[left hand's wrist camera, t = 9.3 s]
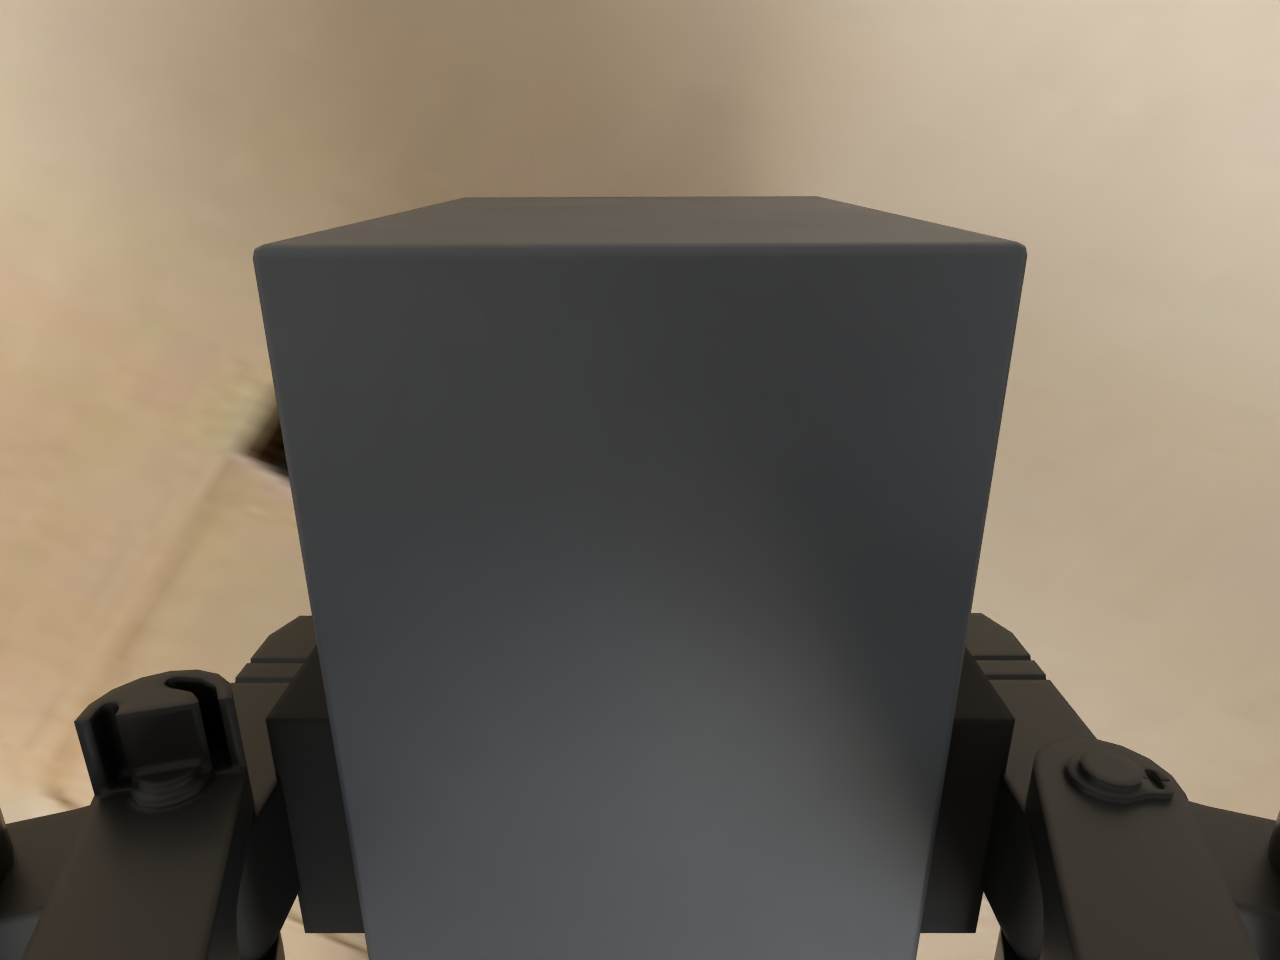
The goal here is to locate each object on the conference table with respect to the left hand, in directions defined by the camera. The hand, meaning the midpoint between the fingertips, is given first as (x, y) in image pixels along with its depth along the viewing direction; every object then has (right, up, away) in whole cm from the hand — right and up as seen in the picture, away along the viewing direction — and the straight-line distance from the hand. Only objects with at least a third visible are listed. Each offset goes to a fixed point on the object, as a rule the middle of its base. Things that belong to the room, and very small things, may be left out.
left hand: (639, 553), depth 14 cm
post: (0, -19, +8) cm, 21 cm away
